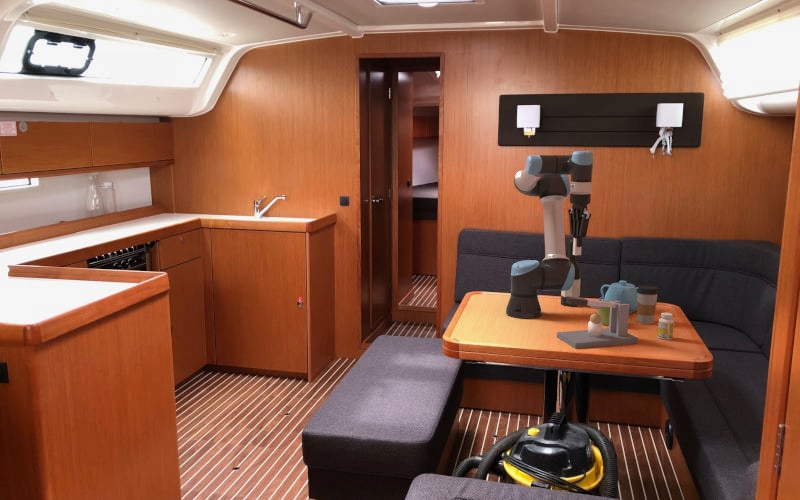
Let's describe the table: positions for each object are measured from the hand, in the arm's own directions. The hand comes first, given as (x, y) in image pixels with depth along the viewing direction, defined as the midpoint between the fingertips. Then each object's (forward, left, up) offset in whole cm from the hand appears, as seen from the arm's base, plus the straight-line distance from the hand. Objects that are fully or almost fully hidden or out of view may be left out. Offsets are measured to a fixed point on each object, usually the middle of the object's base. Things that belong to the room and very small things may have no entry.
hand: (576, 254), depth 244 cm
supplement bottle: (+12, +33, -32) cm, 47 cm away
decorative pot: (-28, +40, -32) cm, 59 cm away
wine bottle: (-43, +23, -32) cm, 59 cm away
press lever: (+8, +4, -19) cm, 21 cm away
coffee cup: (-9, +39, -32) cm, 51 cm away
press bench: (+8, +6, -32) cm, 33 cm away
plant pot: (-11, +22, -32) cm, 40 cm away
